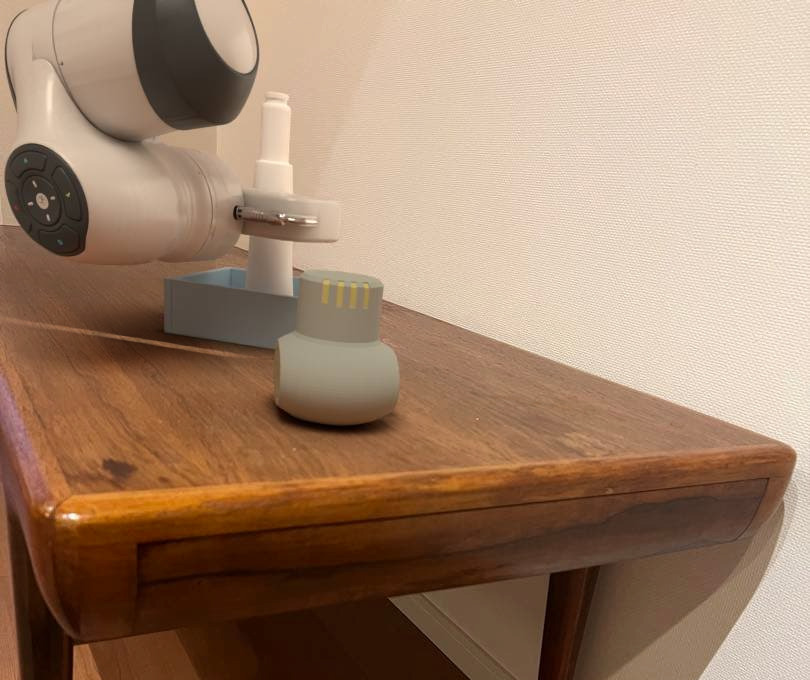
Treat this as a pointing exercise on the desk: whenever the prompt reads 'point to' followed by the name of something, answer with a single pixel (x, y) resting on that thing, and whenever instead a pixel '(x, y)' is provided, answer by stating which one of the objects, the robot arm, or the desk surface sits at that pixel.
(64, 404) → the desk surface
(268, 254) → the cosmetic bottle
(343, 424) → the air freshener
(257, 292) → the basket
